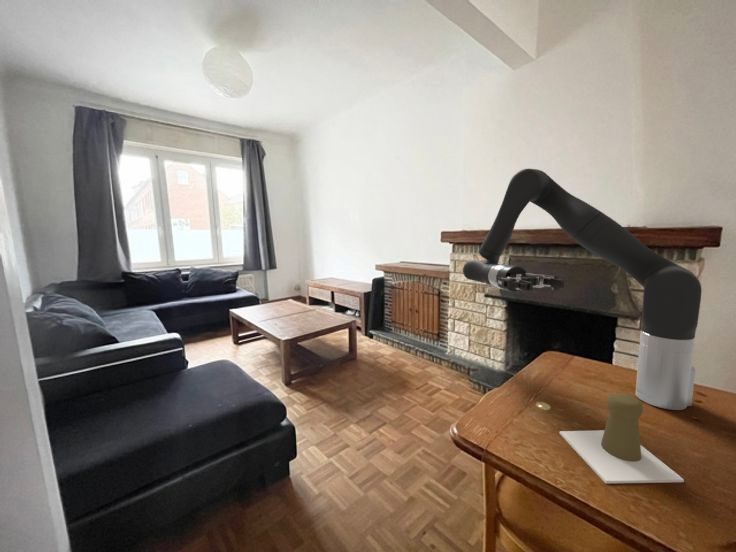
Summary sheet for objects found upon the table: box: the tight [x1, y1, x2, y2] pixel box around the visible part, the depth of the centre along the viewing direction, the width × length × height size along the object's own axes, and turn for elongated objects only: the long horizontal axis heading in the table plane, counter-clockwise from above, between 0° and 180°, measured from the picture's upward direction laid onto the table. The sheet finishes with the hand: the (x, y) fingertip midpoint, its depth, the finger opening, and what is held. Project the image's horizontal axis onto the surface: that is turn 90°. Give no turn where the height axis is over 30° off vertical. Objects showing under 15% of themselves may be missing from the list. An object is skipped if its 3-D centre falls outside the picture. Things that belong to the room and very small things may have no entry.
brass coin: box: [535, 401, 552, 411], centre depth 74 cm, size 3×3×1 cm
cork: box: [601, 392, 644, 462], centre depth 57 cm, size 6×6×11 cm
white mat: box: [559, 429, 685, 484], centre depth 58 cm, size 13×13×1 cm
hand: (547, 285), depth 73 cm, fingers open, 8 cm apart
